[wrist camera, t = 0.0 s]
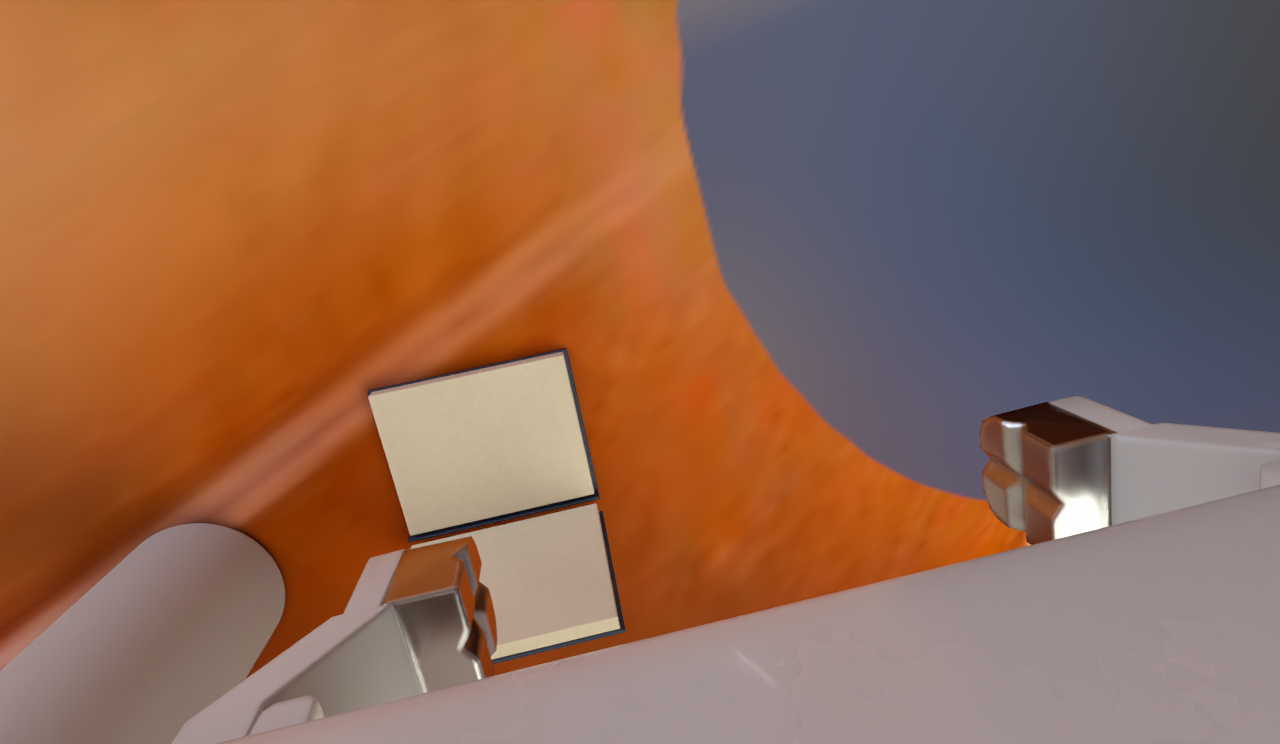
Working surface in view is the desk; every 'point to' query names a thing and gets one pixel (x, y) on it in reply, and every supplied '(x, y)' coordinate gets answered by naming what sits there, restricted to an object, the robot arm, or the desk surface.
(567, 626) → the book cover
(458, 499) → the book
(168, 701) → the cylinder vase
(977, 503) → the desk surface
